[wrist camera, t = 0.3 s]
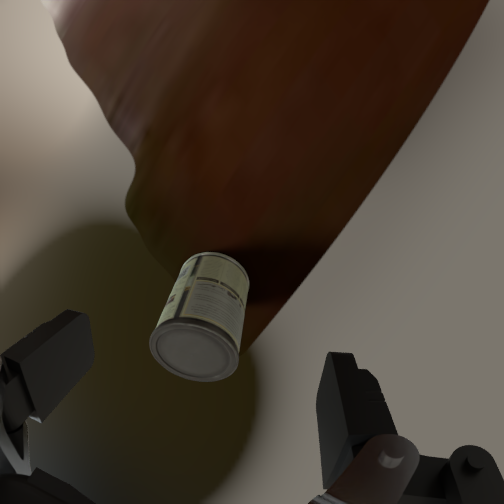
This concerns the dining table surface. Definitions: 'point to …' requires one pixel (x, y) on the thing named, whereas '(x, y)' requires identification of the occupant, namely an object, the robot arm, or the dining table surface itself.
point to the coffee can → (203, 319)
